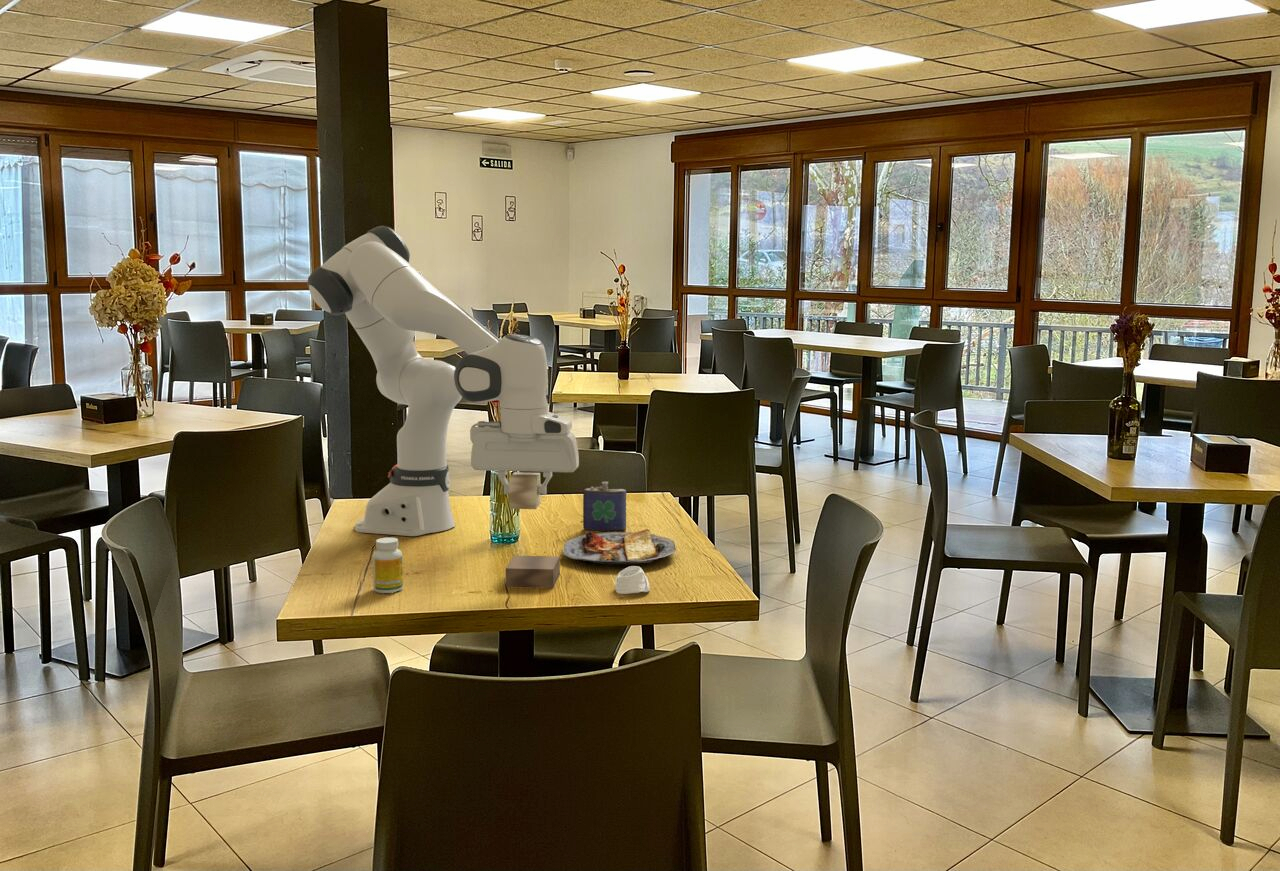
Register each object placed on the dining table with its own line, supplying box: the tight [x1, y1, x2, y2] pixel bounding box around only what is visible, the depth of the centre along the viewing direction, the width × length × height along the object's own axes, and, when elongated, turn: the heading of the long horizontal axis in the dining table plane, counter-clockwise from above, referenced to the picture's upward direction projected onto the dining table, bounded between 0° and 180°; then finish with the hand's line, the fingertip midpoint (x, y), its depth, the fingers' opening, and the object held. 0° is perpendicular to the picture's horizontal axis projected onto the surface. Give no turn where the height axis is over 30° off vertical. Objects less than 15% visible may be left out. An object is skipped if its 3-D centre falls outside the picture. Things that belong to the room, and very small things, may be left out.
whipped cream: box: [614, 565, 651, 595], centre depth 199 cm, size 8×7×5 cm
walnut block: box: [505, 555, 561, 589], centre depth 205 cm, size 9×9×4 cm
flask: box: [582, 481, 627, 533], centre depth 243 cm, size 10×3×12 cm, turn 88°
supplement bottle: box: [372, 536, 404, 594], centre depth 198 cm, size 5×5×10 cm
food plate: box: [562, 528, 676, 565], centre depth 223 cm, size 25×23×4 cm
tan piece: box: [508, 471, 542, 510], centre depth 201 cm, size 5×5×6 cm
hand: (525, 494), depth 201 cm, fingers closed on tan piece, 5 cm apart
